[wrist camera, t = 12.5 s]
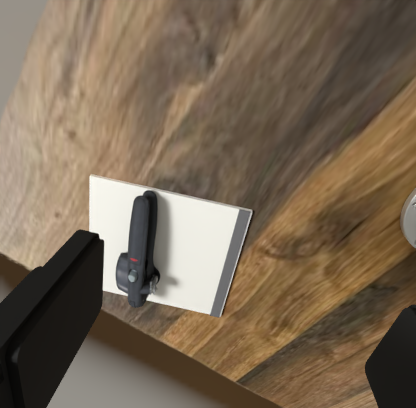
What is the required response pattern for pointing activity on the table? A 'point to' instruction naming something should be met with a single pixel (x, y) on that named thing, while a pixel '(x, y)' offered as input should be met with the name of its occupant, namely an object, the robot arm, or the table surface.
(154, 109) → the table surface
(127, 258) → the can opener
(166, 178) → the table surface
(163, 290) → the mat
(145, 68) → the table surface
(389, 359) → the robot arm
